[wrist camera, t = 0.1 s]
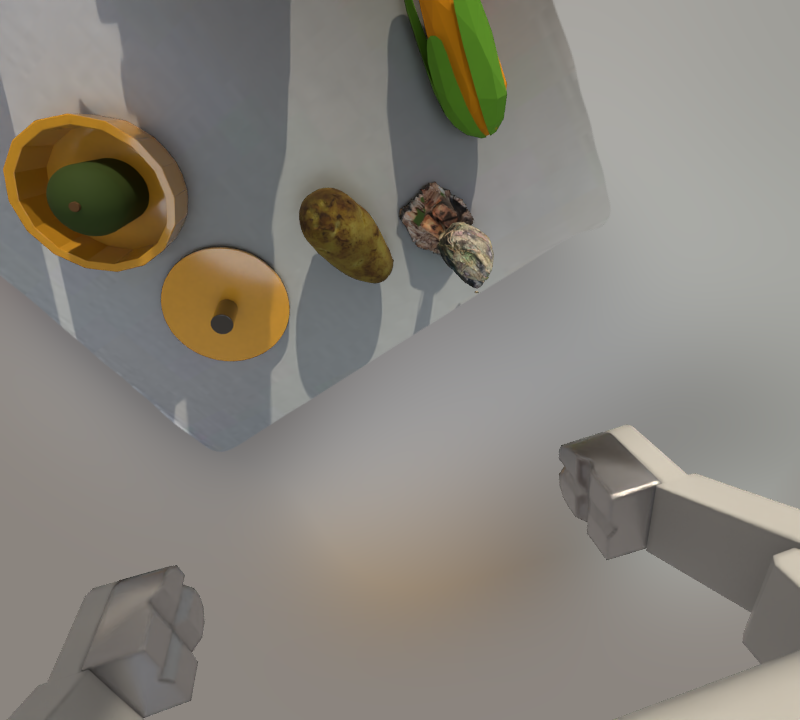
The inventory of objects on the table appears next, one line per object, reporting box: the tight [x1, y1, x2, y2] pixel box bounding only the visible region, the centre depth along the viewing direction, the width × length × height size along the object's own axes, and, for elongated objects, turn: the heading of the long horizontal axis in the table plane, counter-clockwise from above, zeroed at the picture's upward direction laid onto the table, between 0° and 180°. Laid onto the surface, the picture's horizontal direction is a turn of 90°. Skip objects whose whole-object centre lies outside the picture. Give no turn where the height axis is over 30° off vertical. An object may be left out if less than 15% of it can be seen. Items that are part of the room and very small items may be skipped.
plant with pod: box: [399, 182, 494, 293], centre depth 47 cm, size 8×11×20 cm
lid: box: [161, 247, 290, 361], centre depth 52 cm, size 15×15×6 cm
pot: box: [3, 114, 188, 272], centre depth 44 cm, size 14×14×6 cm
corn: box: [404, 0, 507, 138], centre depth 43 cm, size 7×8×20 cm
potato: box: [299, 188, 394, 283], centre depth 50 cm, size 8×13×8 cm, turn 20°
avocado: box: [46, 158, 149, 236], centre depth 41 cm, size 6×6×10 cm
